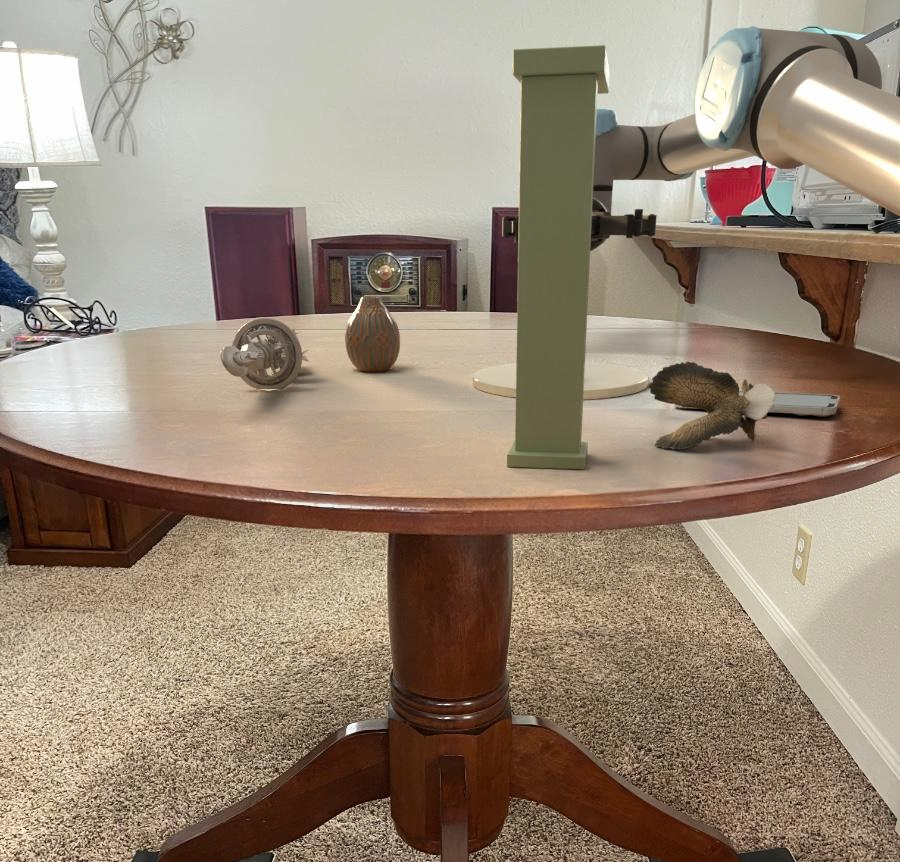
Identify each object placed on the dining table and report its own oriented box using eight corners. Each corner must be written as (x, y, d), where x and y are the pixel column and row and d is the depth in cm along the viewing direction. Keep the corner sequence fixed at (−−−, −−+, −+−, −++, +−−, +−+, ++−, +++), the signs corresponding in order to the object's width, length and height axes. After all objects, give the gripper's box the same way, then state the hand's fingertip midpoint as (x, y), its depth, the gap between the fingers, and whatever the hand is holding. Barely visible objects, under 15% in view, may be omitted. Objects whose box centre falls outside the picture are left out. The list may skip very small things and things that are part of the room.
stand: (524, 431, 80) (531, 74, 69) (591, 433, 79) (609, 71, 68) (506, 466, 69) (512, 47, 58) (584, 469, 68) (605, 43, 57)
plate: (660, 373, 108) (660, 365, 107) (630, 404, 90) (631, 394, 90) (502, 366, 114) (503, 358, 114) (447, 394, 97) (447, 385, 97)
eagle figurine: (722, 413, 80) (634, 401, 78) (766, 352, 75) (672, 336, 72) (748, 476, 76) (656, 465, 74) (797, 416, 71) (699, 402, 68)
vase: (380, 375, 109) (376, 300, 105) (335, 371, 112) (331, 298, 109) (411, 367, 114) (409, 295, 111) (368, 363, 117) (364, 294, 114)
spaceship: (167, 338, 81) (244, 303, 80) (254, 332, 115) (309, 307, 114) (207, 419, 84) (282, 386, 82) (281, 390, 117) (336, 366, 116)
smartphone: (687, 388, 94) (840, 394, 88) (686, 397, 94) (839, 404, 88) (672, 400, 88) (835, 408, 82) (671, 410, 88) (834, 418, 82)
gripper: (668, 251, 129) (674, 258, 110) (498, 253, 134) (475, 259, 114) (672, 195, 126) (679, 191, 107) (498, 198, 131) (475, 195, 112)
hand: (574, 226), depth 111 cm, fingers open, 13 cm apart
